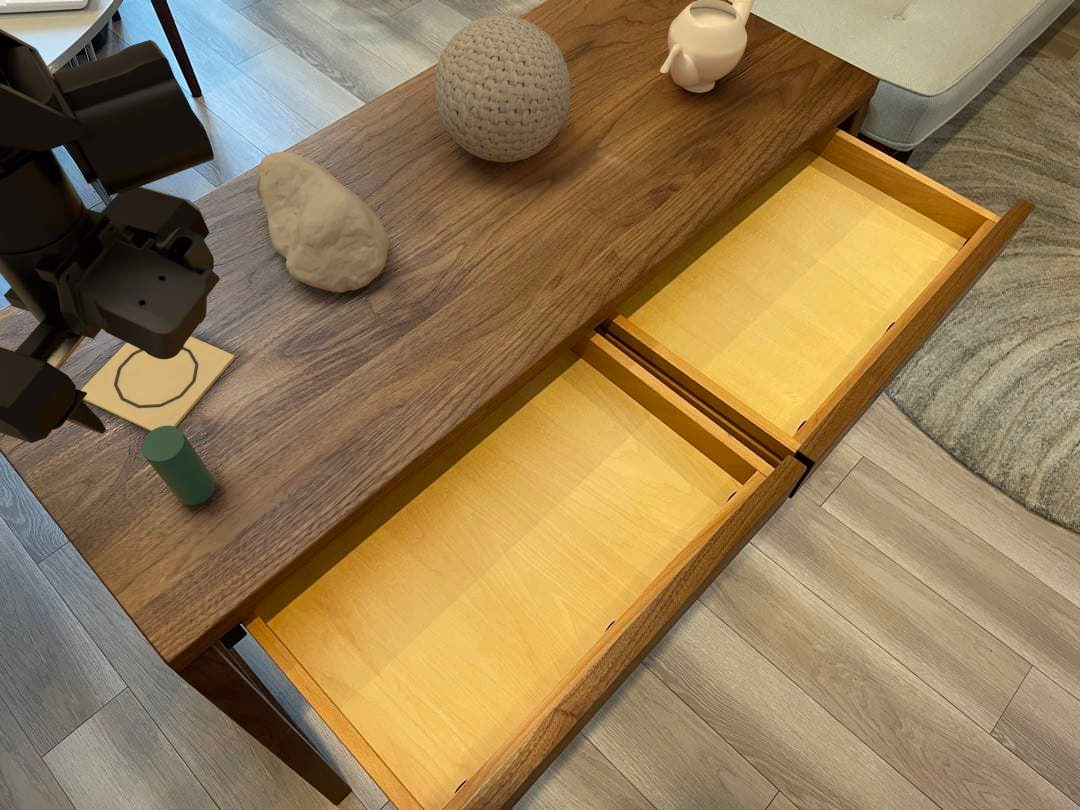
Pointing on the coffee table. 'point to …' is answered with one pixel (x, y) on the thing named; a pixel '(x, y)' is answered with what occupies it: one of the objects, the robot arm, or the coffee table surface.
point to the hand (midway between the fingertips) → (137, 378)
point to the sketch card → (156, 383)
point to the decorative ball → (502, 88)
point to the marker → (178, 465)
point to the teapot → (706, 42)
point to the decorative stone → (320, 224)
